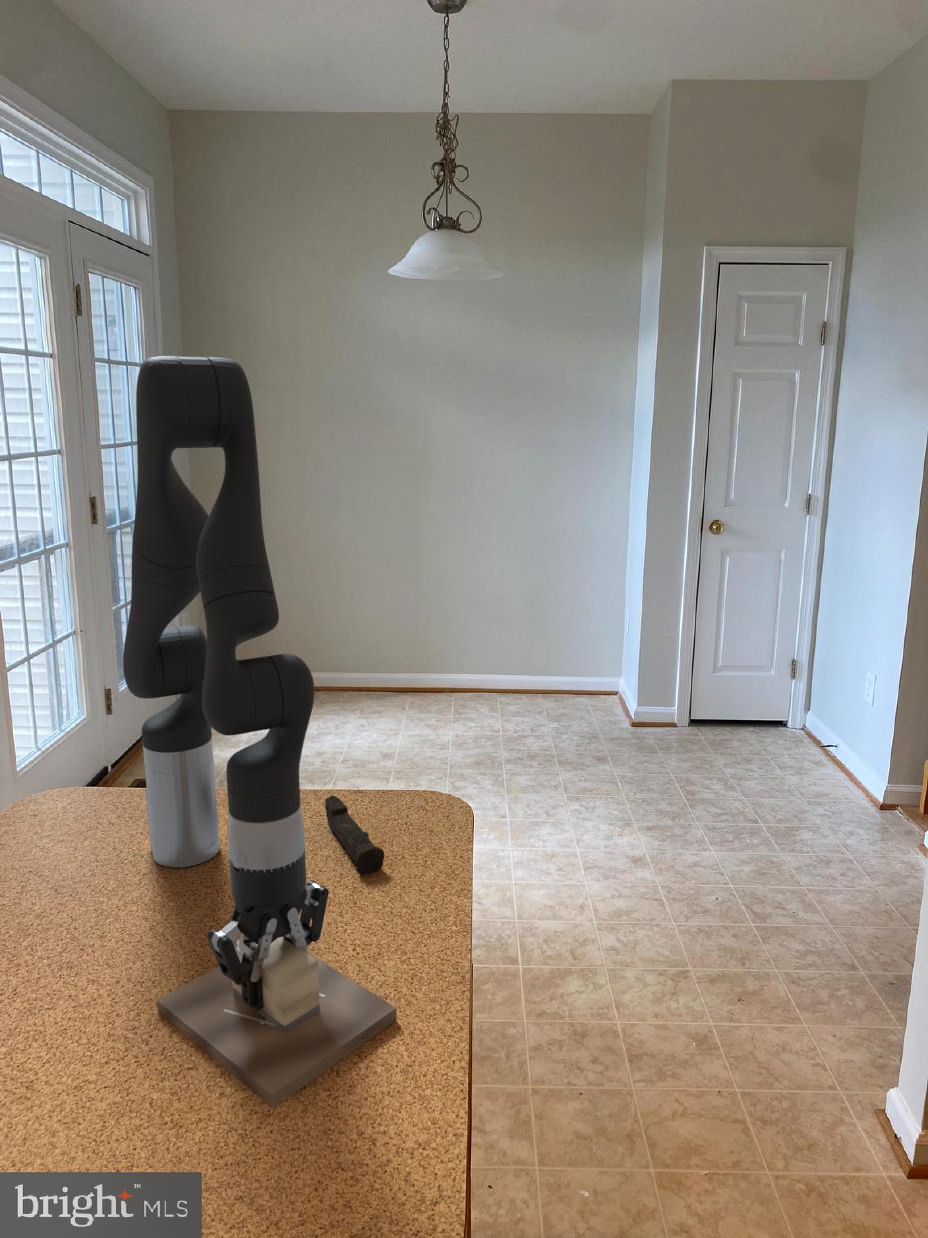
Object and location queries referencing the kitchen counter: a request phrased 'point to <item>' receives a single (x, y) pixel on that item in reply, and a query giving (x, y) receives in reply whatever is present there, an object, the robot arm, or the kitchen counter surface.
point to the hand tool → (353, 837)
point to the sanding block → (287, 985)
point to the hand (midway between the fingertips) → (275, 993)
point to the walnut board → (276, 1030)
